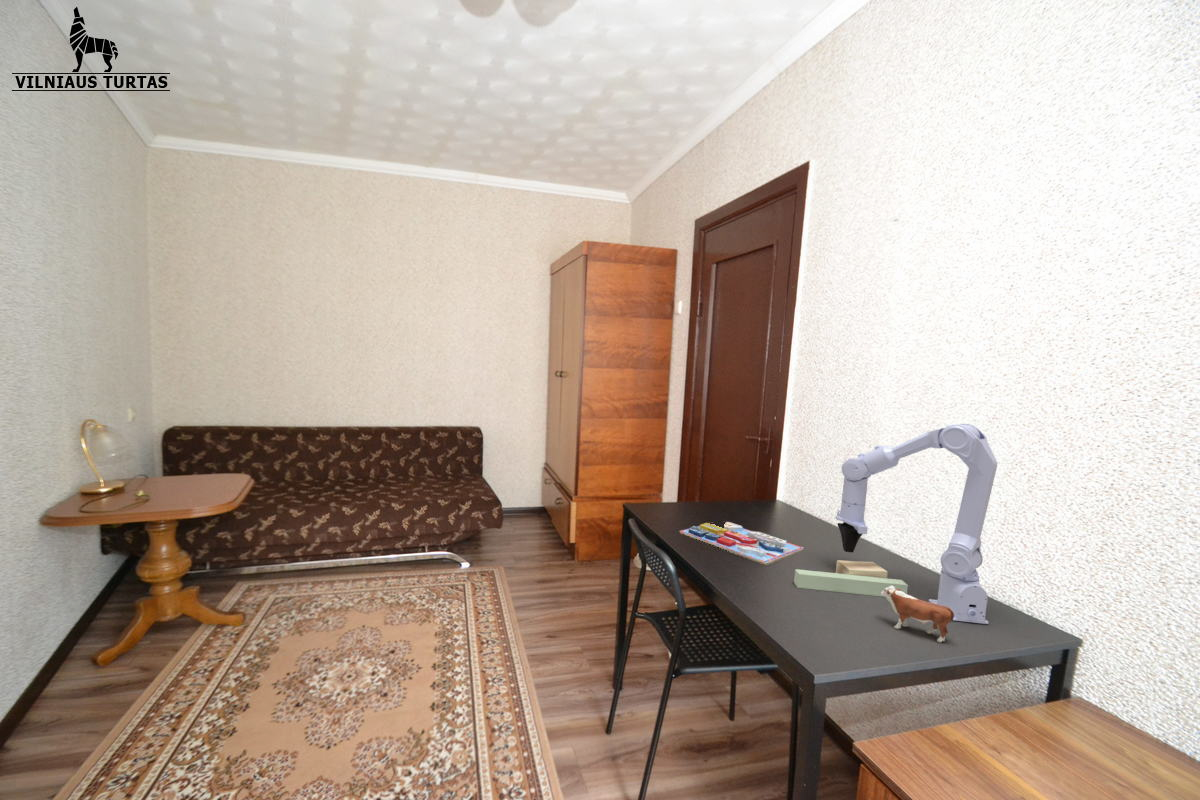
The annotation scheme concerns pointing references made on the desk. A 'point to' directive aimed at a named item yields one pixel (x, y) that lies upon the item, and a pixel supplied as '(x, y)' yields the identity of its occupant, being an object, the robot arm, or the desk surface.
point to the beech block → (860, 569)
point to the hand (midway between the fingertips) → (848, 551)
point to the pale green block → (845, 582)
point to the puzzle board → (744, 542)
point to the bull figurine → (918, 611)
